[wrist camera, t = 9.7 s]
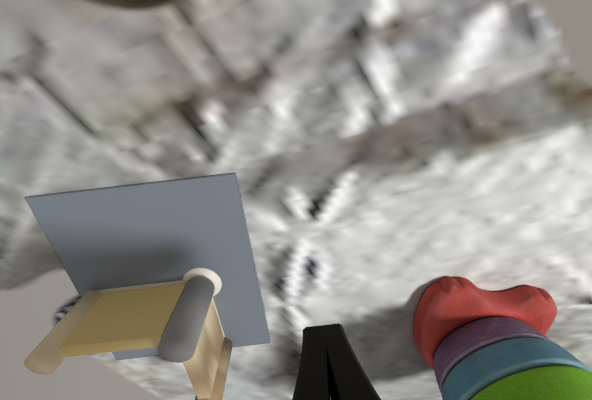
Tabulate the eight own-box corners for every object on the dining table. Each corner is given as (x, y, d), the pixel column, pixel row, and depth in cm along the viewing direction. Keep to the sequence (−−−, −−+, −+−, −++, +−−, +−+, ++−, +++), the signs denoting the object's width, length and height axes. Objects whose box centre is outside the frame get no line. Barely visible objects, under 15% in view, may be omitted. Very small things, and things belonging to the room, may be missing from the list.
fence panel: (211, 274, 19) (189, 336, 15) (217, 296, 20) (198, 360, 16) (79, 289, 19) (16, 354, 15) (90, 310, 20) (34, 378, 16)
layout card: (270, 339, 23) (270, 343, 23) (118, 356, 23) (116, 360, 23) (235, 172, 17) (234, 174, 17) (28, 196, 17) (24, 198, 17)
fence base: (234, 350, 23) (221, 424, 18) (213, 352, 23) (194, 427, 18) (218, 295, 21) (198, 364, 16) (194, 298, 21) (167, 367, 16)
